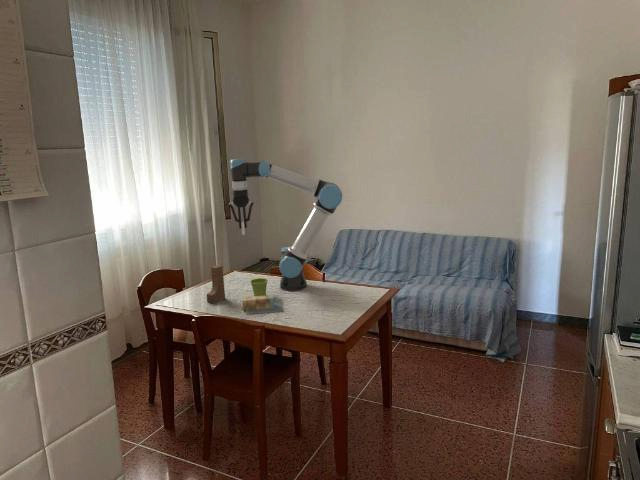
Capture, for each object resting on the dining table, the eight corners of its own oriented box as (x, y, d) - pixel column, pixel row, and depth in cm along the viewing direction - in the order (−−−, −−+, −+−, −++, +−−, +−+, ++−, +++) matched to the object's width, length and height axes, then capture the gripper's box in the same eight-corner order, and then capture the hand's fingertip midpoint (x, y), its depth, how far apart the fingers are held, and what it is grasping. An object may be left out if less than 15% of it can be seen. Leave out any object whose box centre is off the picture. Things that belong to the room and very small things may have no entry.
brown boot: (212, 303, 242) (209, 270, 238) (206, 302, 244) (203, 269, 240) (225, 298, 249) (222, 265, 245) (219, 297, 251) (216, 264, 248)
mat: (281, 300, 242) (281, 300, 242) (283, 311, 227) (283, 310, 227) (246, 303, 240) (246, 302, 240) (246, 314, 224) (246, 314, 224)
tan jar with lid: (243, 306, 234) (273, 304, 236) (243, 310, 229) (273, 307, 231) (242, 297, 233) (272, 295, 235) (242, 300, 228) (273, 298, 230)
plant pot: (264, 299, 245) (263, 283, 243) (248, 298, 247) (247, 282, 246) (271, 294, 253) (270, 278, 252) (255, 292, 256) (254, 277, 254)
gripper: (252, 187, 244) (255, 232, 249) (227, 189, 242) (230, 234, 247) (253, 189, 237) (256, 234, 242) (227, 190, 235) (230, 236, 240)
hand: (243, 234), depth 244 cm, fingers closed
